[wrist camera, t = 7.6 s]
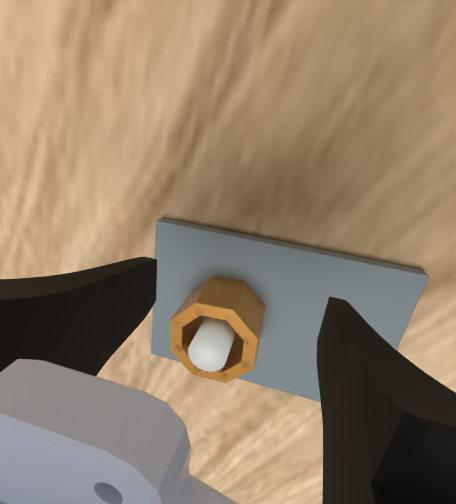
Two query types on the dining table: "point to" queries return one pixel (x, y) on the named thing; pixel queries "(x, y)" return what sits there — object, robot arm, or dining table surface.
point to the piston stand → (275, 298)
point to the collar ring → (226, 308)
